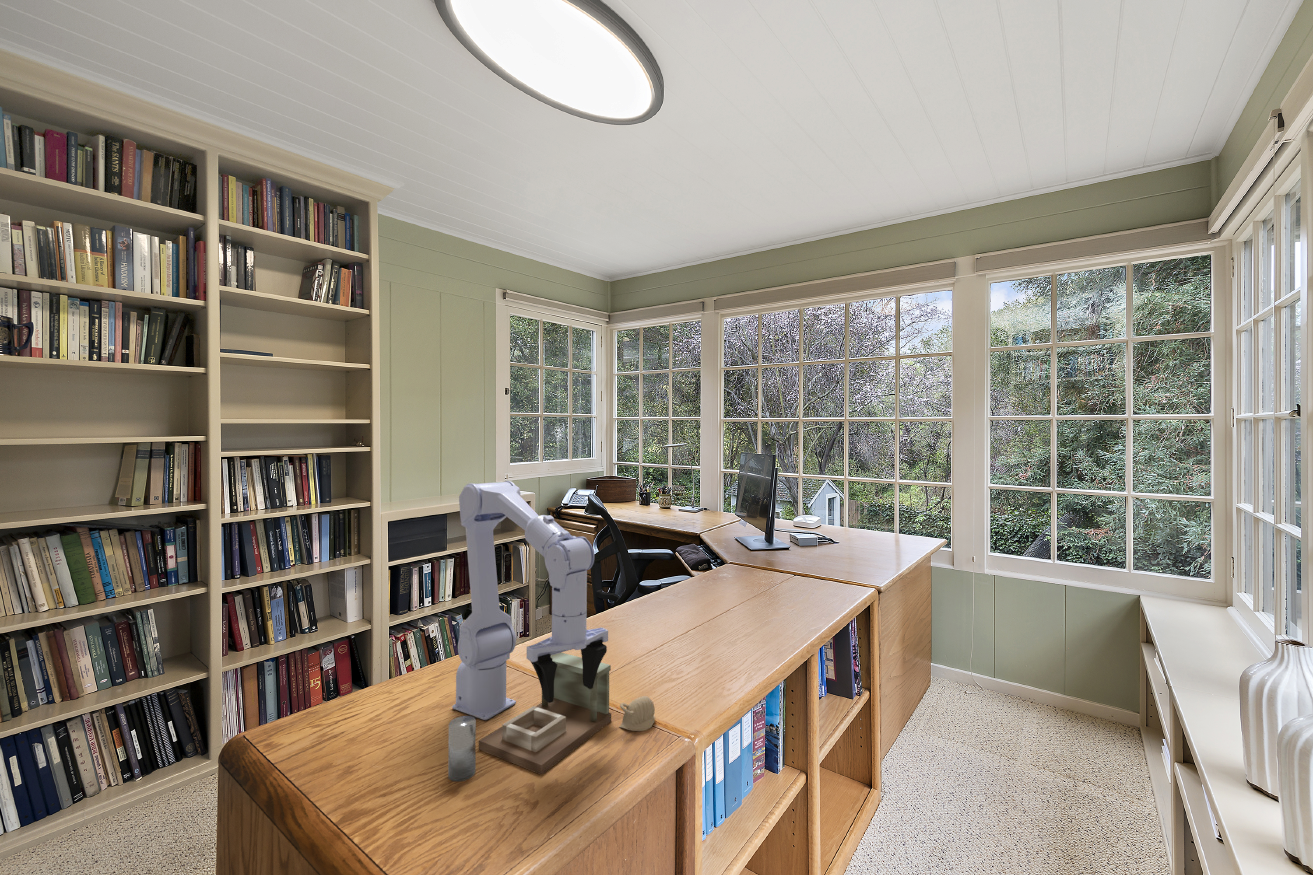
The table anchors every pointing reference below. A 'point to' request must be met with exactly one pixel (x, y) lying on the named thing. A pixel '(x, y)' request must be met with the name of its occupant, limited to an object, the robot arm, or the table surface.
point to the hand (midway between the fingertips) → (568, 693)
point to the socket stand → (554, 719)
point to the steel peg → (462, 748)
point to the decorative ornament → (638, 714)
